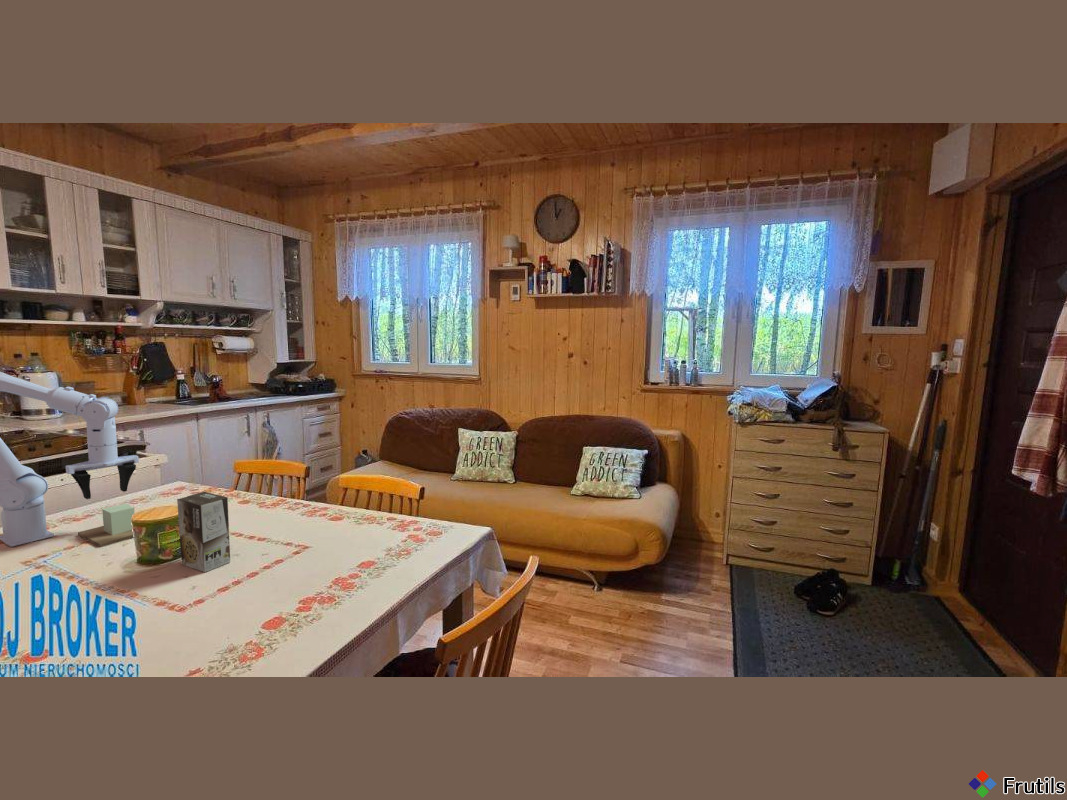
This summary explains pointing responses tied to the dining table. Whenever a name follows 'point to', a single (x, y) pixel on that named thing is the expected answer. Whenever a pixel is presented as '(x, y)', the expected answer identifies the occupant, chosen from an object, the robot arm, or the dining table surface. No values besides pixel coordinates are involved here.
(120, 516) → the sage block
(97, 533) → the walnut base board
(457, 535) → the dining table surface
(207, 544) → the coffee box
